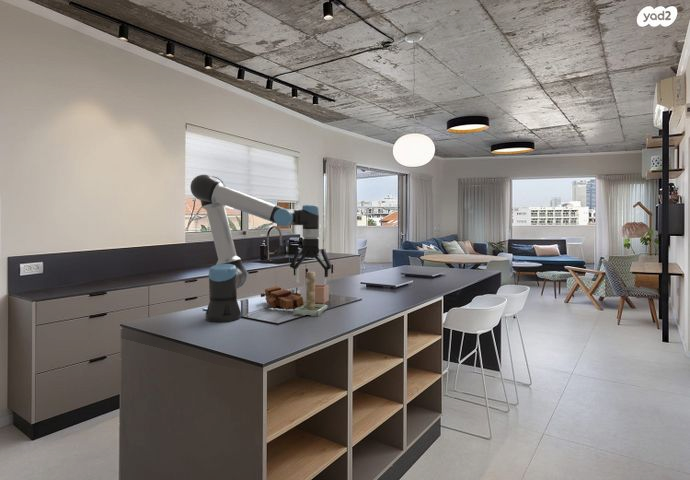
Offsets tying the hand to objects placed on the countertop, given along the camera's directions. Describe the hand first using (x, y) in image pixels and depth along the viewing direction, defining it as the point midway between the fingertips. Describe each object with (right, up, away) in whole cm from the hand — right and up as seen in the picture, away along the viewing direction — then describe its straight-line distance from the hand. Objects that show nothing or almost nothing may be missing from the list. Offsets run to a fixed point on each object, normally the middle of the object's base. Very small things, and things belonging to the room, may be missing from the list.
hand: (310, 283), depth 200 cm
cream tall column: (0, -13, +1) cm, 13 cm away
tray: (0, -14, +1) cm, 14 cm away
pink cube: (+3, -13, +21) cm, 24 cm away
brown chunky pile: (-16, -13, +13) cm, 24 cm away
